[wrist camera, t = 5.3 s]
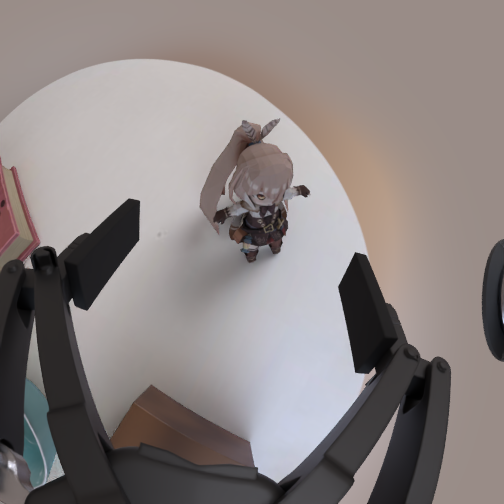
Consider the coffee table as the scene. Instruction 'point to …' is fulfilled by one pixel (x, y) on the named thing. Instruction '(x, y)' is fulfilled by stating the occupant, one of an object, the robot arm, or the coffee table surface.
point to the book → (14, 220)
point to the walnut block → (179, 432)
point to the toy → (252, 189)
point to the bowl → (37, 435)
